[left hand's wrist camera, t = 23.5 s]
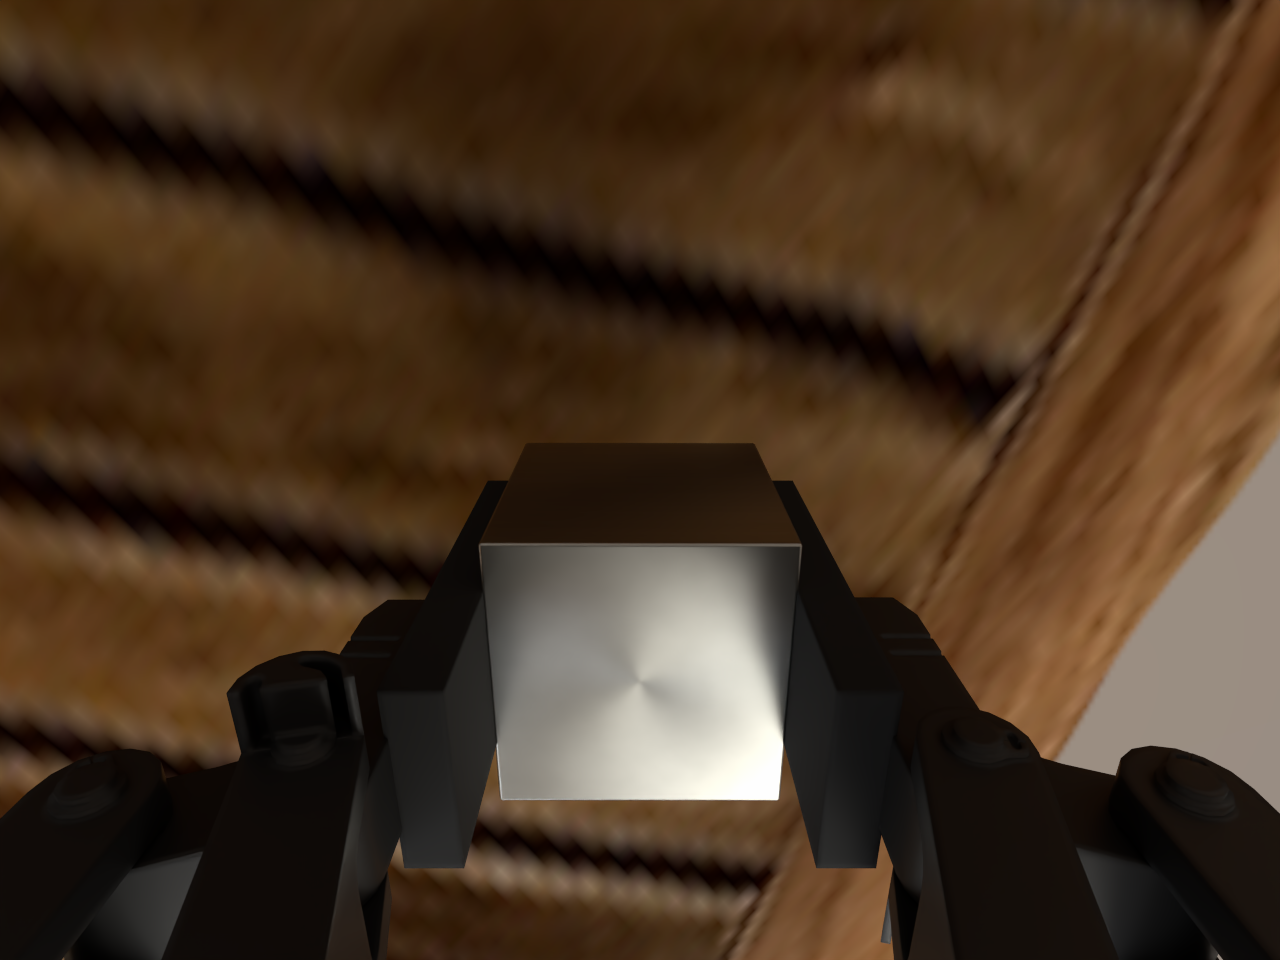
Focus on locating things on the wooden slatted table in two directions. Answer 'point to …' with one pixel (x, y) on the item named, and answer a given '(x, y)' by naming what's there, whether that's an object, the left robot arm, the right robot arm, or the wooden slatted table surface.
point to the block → (640, 623)
